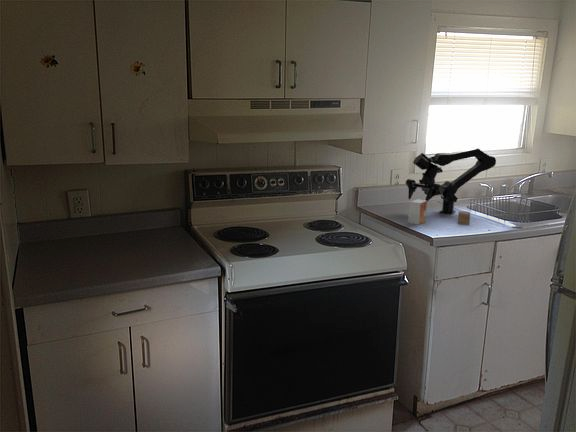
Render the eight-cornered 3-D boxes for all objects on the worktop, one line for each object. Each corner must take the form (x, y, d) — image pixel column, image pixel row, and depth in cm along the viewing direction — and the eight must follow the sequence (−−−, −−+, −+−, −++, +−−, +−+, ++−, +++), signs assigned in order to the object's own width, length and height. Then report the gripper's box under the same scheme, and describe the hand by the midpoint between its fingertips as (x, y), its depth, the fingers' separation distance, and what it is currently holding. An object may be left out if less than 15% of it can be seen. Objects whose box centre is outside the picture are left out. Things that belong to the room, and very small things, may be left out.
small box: (418, 225, 253) (420, 203, 250) (407, 223, 256) (409, 201, 253) (425, 221, 259) (427, 200, 256) (414, 219, 262) (416, 198, 259)
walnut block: (457, 221, 262) (458, 211, 261) (468, 221, 261) (469, 211, 259) (458, 223, 257) (459, 213, 256) (469, 224, 256) (470, 214, 255)
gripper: (451, 187, 271) (439, 212, 266) (418, 181, 283) (406, 205, 279) (444, 174, 263) (431, 200, 259) (411, 169, 275) (398, 194, 271)
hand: (417, 200), depth 267 cm, fingers open, 9 cm apart
